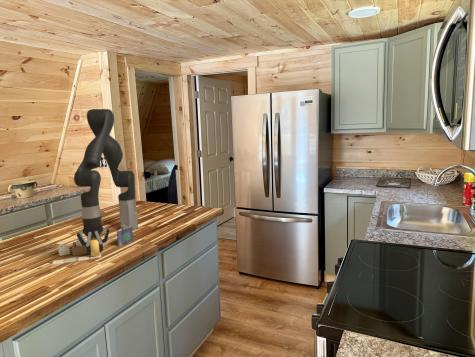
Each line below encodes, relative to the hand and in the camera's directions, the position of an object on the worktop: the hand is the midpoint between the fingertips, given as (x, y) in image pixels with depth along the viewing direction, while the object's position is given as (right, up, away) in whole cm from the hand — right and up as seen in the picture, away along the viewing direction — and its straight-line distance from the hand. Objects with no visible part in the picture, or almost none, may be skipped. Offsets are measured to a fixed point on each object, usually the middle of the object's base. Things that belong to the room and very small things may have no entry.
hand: (95, 252), depth 153 cm
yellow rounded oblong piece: (0, -1, 0) cm, 1 cm away
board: (-9, -3, +2) cm, 9 cm away
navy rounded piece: (+8, 0, +16) cm, 18 cm away
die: (-16, -2, +4) cm, 17 cm away
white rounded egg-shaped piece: (-8, 0, +6) cm, 11 cm away
